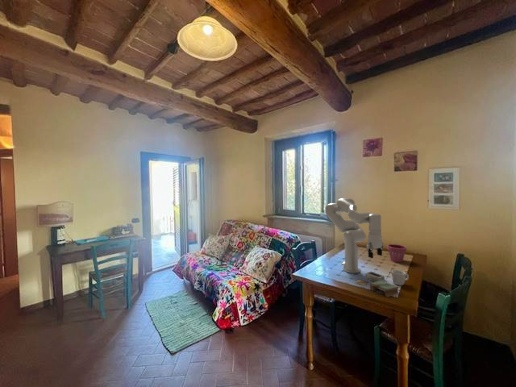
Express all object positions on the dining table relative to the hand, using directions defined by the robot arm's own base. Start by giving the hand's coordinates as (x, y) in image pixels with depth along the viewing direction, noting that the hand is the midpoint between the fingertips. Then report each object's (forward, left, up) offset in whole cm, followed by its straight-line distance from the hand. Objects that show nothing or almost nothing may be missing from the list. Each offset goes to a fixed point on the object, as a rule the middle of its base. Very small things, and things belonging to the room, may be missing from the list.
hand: (375, 256), depth 156 cm
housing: (0, 0, -18) cm, 18 cm away
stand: (+12, -9, -18) cm, 23 cm away
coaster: (-3, -10, -18) cm, 21 cm away
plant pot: (-17, +55, -18) cm, 60 cm away
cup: (+11, +11, -18) cm, 24 cm away
